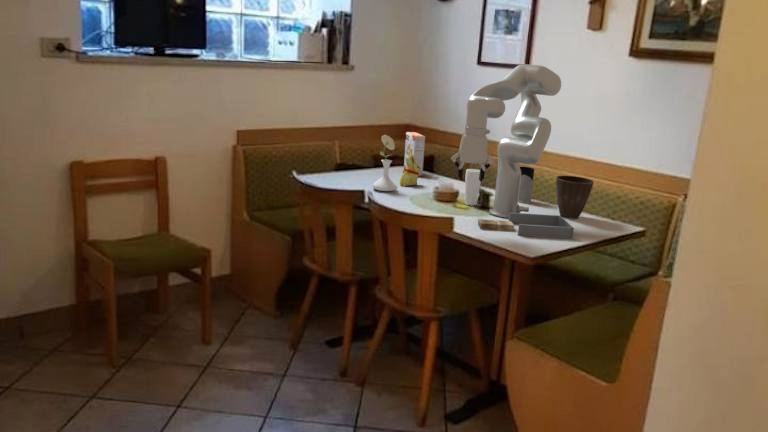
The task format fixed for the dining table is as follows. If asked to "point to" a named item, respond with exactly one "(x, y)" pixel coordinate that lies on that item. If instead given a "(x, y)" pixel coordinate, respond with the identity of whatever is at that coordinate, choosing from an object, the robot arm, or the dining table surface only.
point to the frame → (554, 229)
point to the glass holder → (526, 185)
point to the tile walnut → (487, 224)
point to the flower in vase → (386, 168)
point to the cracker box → (415, 148)
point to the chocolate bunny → (410, 172)
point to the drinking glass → (472, 186)
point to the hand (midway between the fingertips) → (470, 179)
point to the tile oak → (504, 225)
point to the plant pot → (572, 195)
